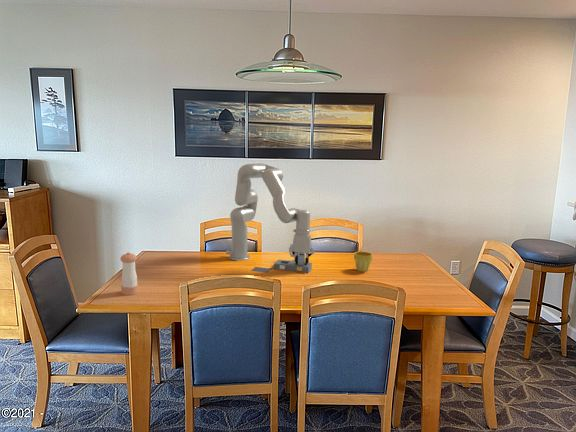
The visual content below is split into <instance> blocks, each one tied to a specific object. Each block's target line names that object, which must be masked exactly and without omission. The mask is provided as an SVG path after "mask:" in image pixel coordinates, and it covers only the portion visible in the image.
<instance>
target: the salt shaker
mask: <svg viewBox="0 0 576 432" xmlns="http://www.w3.org/2000/svg"><path fill="white" fill-rule="evenodd" d="M136 261H137V256H136V254H134V253H131V252H126V253H124V254H122V255H121V256H120V262H122V264H121V265H122V272H121V273H122V274H121V286H120V289H121V291H120V292H121V295H123V296H132V295H136V294H138V293H139V284H138V275H137V272H136Z"/></svg>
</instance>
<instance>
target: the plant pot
mask: <svg viewBox="0 0 576 432" xmlns="http://www.w3.org/2000/svg"><path fill="white" fill-rule="evenodd" d="M353 259H354V262H355V268H356V269H355V270H356V271H357V272H362V273H363V272H365V273H366V272H368V271H369V268H370V265H371V262H372V260H373V254H372V253H371V252H369V251H361V250H360V251H354V253H353Z"/></svg>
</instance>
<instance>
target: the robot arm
mask: <svg viewBox="0 0 576 432" xmlns="http://www.w3.org/2000/svg"><path fill="white" fill-rule="evenodd" d="M236 176H237V180H236V181H237V182H236V188H235V193H234V194H235V195H234V202H235V204H236V205H237V206H239V207H236V208H233V209H232V211H230V214H229V218H230V225H231V250H225V254H226V255H229V257H228V258H229V260H231V261H236V262H237V261H241V262H242V261H245V260H246V261H247V260H249V259H250V258H251V255H248V226H247V223H246V222H251V221H253V220H254V219H255V217H256V214H257V213H256V212H257V207H258V201H259V200H258V194H257V191H256V190H254V189H251V188H252V181H251V179H260V178H261V179H262V180H263V182H264V184H265V186H266V188H267V190H268V191H269V193H270V195H271V197H272V206H273V210H274V213H275V214H276V217H277V218H278V219H279V221H280V222H281V223H283V224H289V223H294V222H295V229H293V231H292V232H293V233H294V235H293V239H292V244H293V246H292V247H291V248H290V250H289V249H288V252H289V251H290V252H291V254H293V255H294V257H295V262H296V264H297V263H298V253H305V265H307V264H308V263H310V261H309V259H310V257H311V256H313V255H314V254H315V253H316V251H315V250H314V248H313V247H312V237H311V234H310V224H311V223H310V222H311V212H310V211H309V210H308V209H307V210H306V209H299V208H295V207H294V208H293V207H292V208H287V206H286V204H285V202H284V196H285V194H286V191H287V189H286V188H285V186H284V184H283V183H282V180H283V179H284V173H283V171H282V169H279V168H278V167H274V166H272V165H268V164H265V163H259V162H258V163H247V164H244V165H242V166H241V167H239V169H238V171H237V174H236ZM294 257H293V258H294Z"/></svg>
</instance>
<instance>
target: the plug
mask: <svg viewBox="0 0 576 432" xmlns="http://www.w3.org/2000/svg"><path fill="white" fill-rule="evenodd" d="M305 258H306V254H304V253H300V254H299V255H298V265H303V266H305Z"/></svg>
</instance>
